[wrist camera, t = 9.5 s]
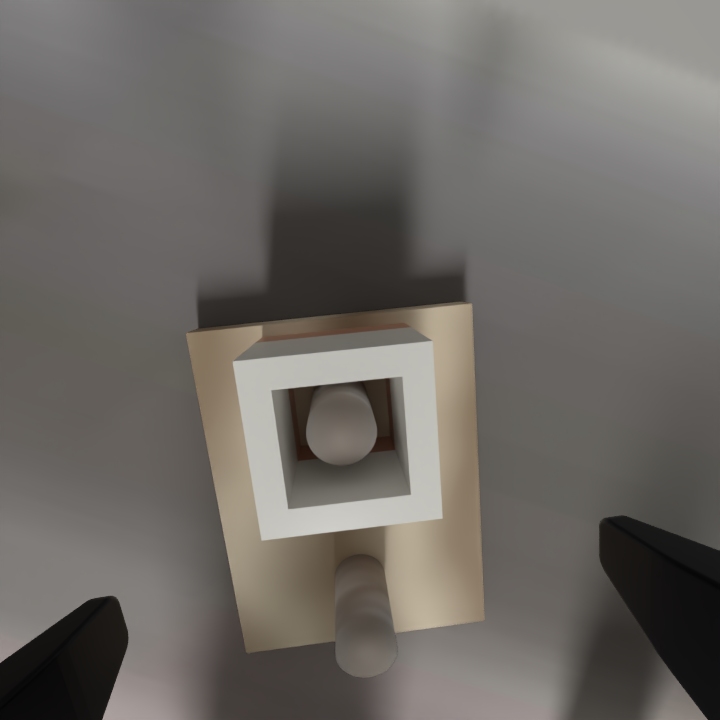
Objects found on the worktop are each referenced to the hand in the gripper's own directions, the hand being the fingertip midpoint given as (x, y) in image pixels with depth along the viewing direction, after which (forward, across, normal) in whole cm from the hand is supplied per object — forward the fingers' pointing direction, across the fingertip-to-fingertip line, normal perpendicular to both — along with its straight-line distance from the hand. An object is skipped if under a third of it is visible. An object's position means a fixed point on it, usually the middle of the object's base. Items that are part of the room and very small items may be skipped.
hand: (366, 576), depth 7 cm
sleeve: (+10, 0, 0) cm, 10 cm away
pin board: (+12, 0, +4) cm, 13 cm away
